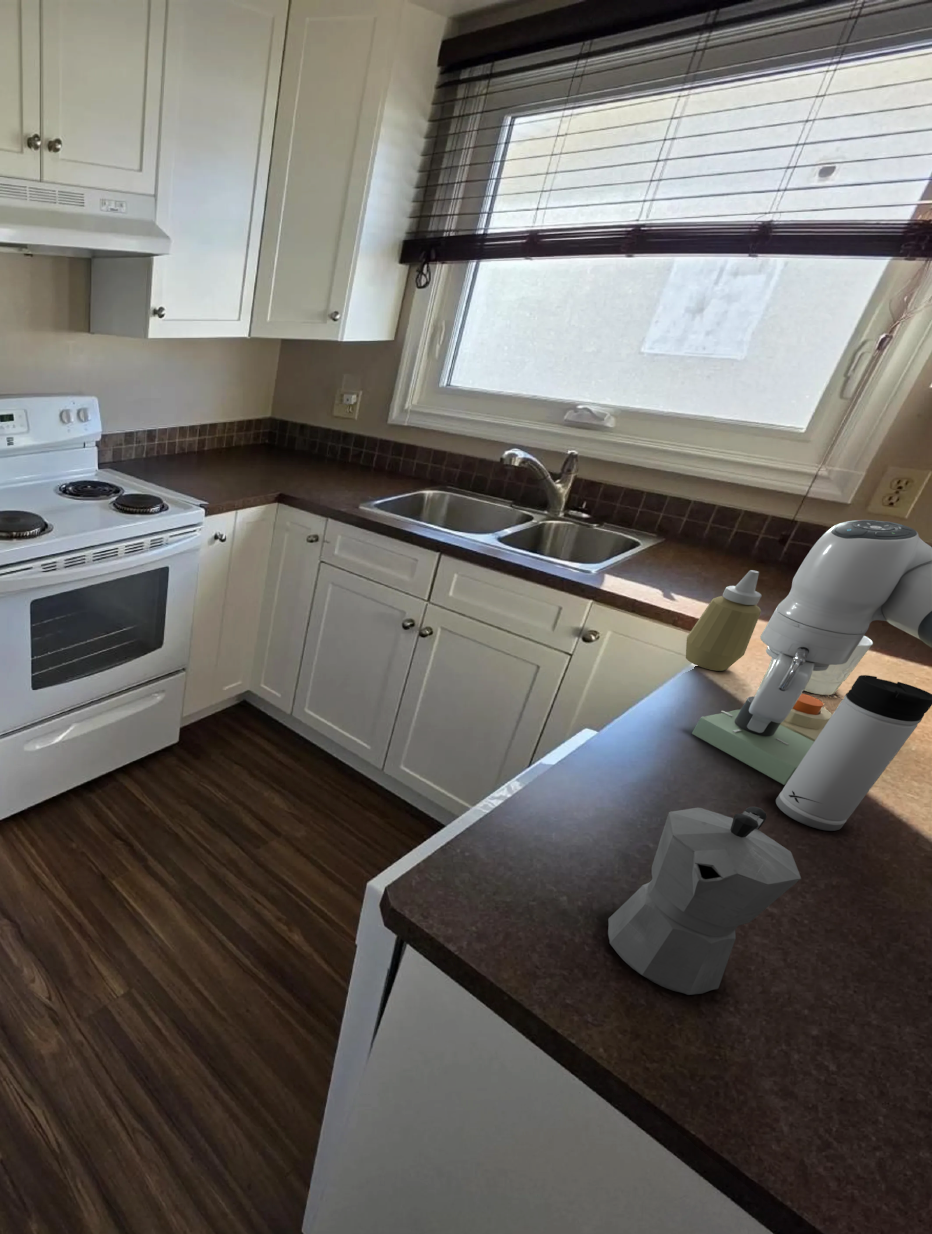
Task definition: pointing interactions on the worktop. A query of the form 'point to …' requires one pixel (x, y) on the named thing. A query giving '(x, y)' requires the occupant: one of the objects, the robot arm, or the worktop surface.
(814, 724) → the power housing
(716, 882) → the coffeepot
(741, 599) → the squeeze bottle
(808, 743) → the dial panel
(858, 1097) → the worktop surface
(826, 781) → the travel mug
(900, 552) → the robot arm
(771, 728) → the timer dial
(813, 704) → the power button
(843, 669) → the white cup
